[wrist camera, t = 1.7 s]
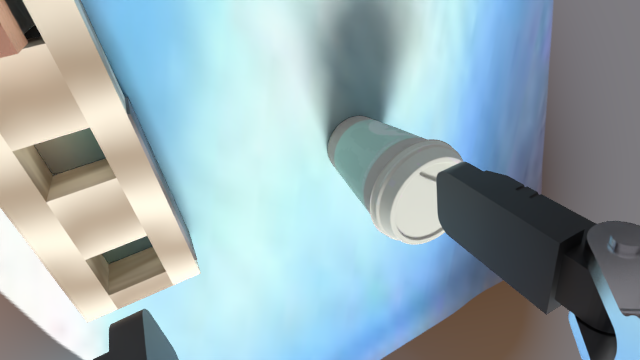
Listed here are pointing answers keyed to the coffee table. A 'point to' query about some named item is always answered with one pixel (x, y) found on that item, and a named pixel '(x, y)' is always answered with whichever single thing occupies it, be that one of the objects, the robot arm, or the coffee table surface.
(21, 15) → the pinkish brown rectangular block
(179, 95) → the coffee table surface
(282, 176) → the coffee table surface
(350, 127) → the coffee cup
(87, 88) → the rail
